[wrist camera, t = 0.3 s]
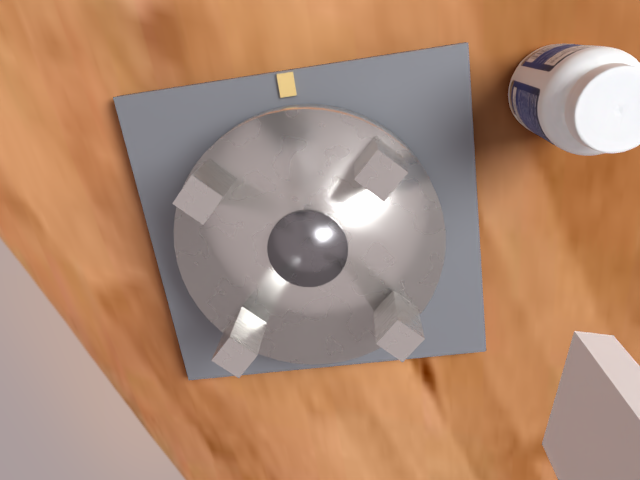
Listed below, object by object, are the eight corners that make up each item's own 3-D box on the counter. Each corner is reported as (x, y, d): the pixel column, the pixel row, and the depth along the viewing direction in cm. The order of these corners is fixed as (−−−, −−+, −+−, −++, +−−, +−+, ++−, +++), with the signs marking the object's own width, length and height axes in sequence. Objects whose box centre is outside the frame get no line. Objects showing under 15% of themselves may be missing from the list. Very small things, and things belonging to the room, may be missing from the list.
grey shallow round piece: (138, 254, 39) (98, 296, 33) (279, 45, 34) (263, 49, 28) (336, 386, 42) (333, 446, 36) (495, 211, 37) (523, 248, 31)
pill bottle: (568, 145, 36) (639, 185, 27) (491, 114, 36) (537, 144, 27) (613, 62, 34) (706, 75, 25) (532, 29, 34) (597, 29, 25)
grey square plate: (119, 95, 37) (111, 97, 36) (465, 42, 34) (468, 42, 33) (192, 372, 44) (188, 381, 43) (483, 343, 42) (486, 352, 40)
